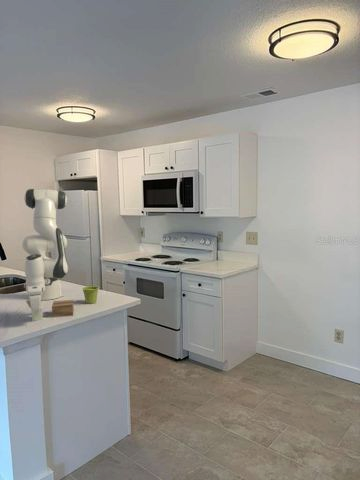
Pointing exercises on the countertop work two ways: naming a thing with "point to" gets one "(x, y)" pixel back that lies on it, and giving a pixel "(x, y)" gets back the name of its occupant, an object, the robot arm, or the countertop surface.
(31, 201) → the robot arm
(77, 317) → the countertop surface
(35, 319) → the sage block
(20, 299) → the countertop surface
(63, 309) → the walnut block
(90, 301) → the plant pot
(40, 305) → the lighter
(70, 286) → the countertop surface
